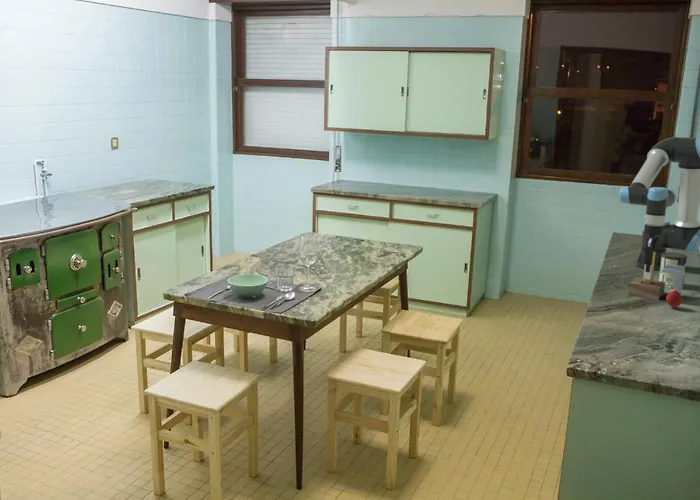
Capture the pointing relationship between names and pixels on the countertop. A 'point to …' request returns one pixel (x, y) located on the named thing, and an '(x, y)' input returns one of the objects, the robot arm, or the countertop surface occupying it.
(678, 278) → the light blue box
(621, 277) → the countertop surface
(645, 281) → the peg
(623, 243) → the countertop surface
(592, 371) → the countertop surface
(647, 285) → the socket block
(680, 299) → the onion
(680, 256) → the coffee can
